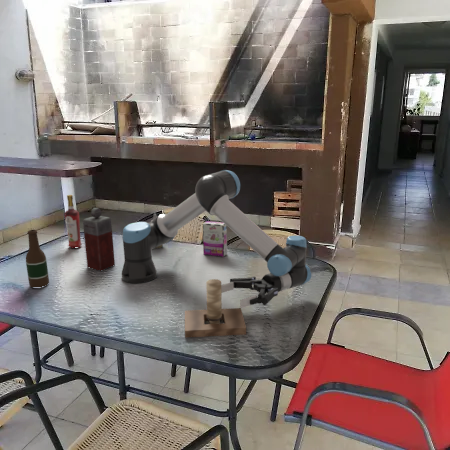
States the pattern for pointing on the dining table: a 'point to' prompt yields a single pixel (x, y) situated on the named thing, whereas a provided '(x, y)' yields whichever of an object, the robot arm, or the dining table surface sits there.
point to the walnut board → (230, 326)
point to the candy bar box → (214, 239)
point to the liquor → (72, 224)
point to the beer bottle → (36, 262)
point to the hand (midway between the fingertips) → (229, 296)
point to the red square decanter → (98, 241)
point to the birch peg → (214, 301)
